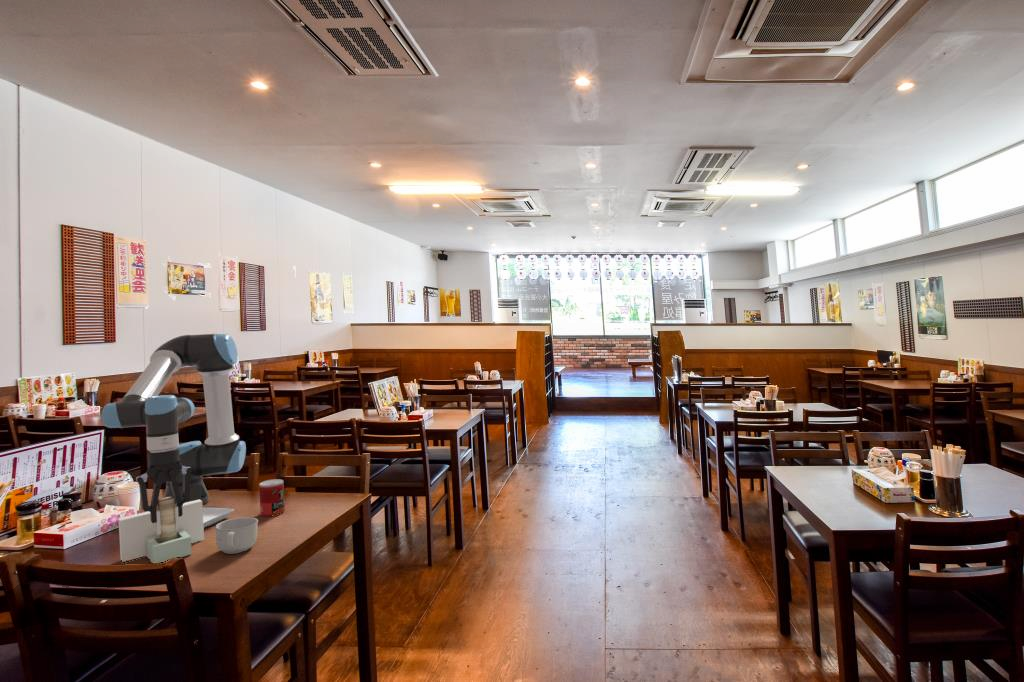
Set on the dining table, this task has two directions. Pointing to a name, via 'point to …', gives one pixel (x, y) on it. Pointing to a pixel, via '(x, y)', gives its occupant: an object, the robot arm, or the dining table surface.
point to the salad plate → (214, 515)
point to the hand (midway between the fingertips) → (167, 530)
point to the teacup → (236, 534)
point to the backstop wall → (141, 528)
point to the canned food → (271, 497)
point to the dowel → (167, 519)
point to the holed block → (168, 547)
